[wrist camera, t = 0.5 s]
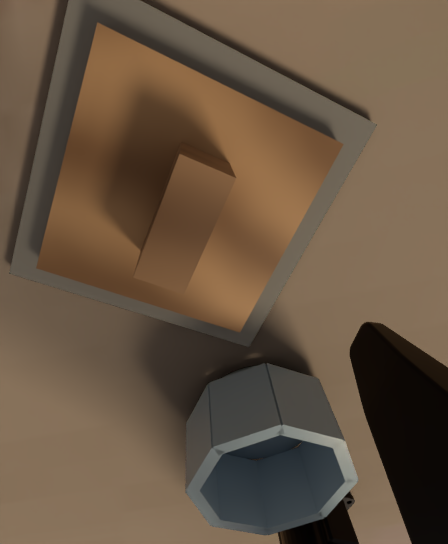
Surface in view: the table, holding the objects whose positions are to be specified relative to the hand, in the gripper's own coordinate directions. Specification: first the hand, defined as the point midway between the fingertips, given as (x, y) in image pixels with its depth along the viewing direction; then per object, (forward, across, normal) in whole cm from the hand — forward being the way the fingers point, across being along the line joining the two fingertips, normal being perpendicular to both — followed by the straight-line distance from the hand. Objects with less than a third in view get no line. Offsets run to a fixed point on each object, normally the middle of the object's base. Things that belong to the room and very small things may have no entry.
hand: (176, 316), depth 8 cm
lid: (+12, -1, +2) cm, 13 cm away
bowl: (+12, -9, +17) cm, 22 cm away
